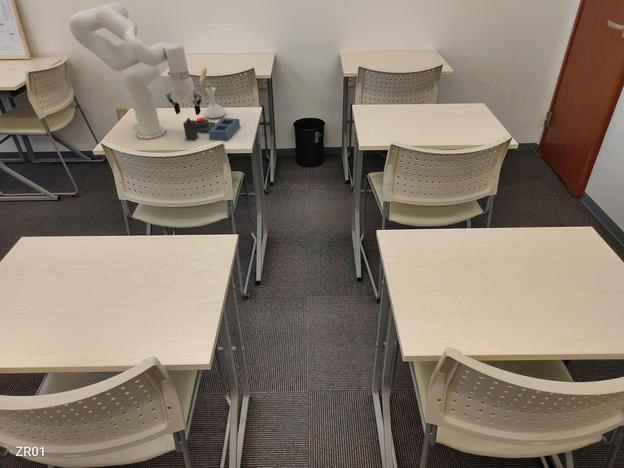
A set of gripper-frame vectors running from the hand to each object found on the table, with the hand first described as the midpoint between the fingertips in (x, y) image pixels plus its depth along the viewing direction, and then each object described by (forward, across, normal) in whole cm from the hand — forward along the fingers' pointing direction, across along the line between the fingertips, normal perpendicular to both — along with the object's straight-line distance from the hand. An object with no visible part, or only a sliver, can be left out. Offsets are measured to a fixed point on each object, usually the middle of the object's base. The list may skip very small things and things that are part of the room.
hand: (188, 113), depth 214 cm
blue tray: (+12, +12, +8) cm, 19 cm away
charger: (+12, -1, 0) cm, 12 cm away
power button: (+9, -1, +11) cm, 14 cm away
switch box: (+12, -1, +11) cm, 16 cm away
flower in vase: (+12, -1, +26) cm, 29 cm away
